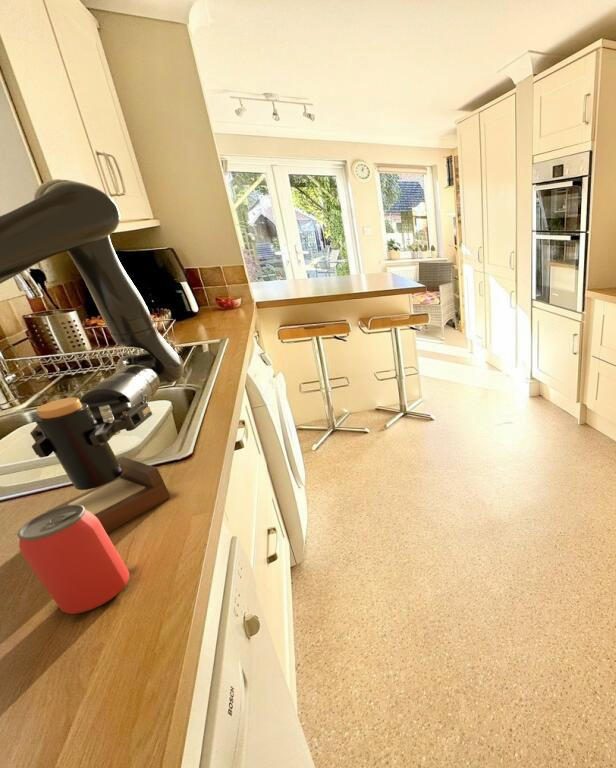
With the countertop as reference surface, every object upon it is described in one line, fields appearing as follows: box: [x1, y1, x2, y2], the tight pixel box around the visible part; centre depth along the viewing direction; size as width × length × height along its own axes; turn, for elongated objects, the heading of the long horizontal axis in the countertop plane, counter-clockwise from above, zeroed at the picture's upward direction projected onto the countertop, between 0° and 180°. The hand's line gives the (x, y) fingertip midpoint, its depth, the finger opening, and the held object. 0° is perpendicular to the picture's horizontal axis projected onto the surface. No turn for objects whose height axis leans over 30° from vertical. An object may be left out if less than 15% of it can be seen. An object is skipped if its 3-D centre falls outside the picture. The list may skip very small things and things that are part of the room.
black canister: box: [33, 397, 123, 491], centre depth 62 cm, size 6×6×13 cm
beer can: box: [16, 505, 130, 615], centre depth 50 cm, size 7×7×12 cm
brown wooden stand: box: [46, 456, 171, 534], centre depth 66 cm, size 10×11×6 cm
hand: (68, 446), depth 60 cm, fingers closed on black canister, 5 cm apart
